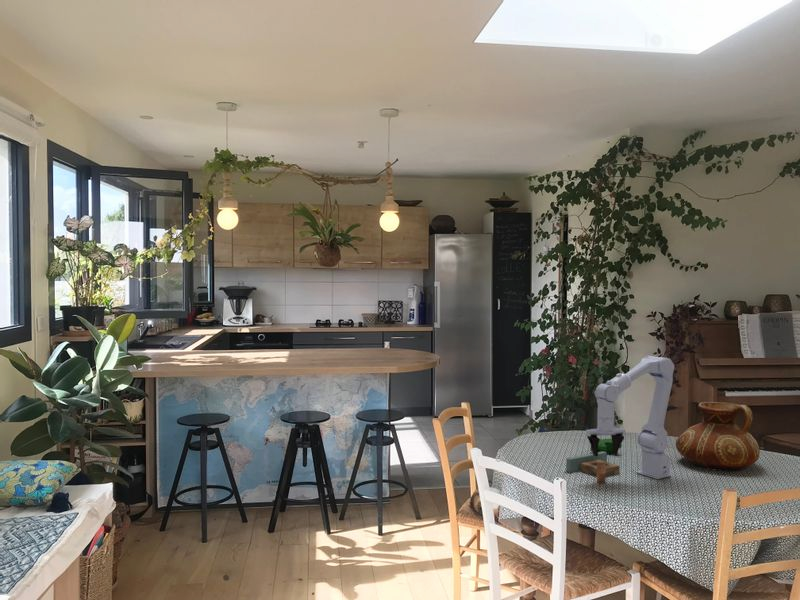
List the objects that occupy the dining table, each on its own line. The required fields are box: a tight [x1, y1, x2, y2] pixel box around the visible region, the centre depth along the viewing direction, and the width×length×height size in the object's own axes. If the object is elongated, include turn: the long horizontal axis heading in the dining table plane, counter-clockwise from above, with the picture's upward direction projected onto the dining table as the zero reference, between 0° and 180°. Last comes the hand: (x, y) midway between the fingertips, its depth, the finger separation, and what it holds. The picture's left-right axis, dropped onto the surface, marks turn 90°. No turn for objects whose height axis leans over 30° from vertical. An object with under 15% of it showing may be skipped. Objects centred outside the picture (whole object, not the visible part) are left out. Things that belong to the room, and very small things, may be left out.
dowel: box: [596, 462, 607, 484], centre depth 235 cm, size 3×3×7 cm
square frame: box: [579, 460, 620, 477], centre depth 247 cm, size 10×10×3 cm
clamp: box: [589, 438, 623, 455], centre depth 274 cm, size 12×6×9 cm, turn 99°
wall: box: [565, 451, 608, 474], centre depth 253 cm, size 2×20×5 cm, turn 122°
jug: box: [675, 401, 761, 472], centre depth 259 cm, size 30×30×25 cm
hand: (605, 455), depth 237 cm, fingers open, 7 cm apart
